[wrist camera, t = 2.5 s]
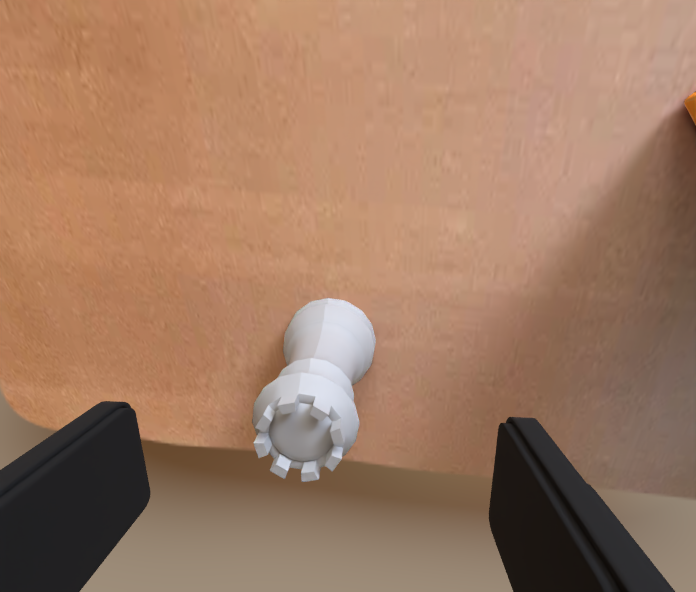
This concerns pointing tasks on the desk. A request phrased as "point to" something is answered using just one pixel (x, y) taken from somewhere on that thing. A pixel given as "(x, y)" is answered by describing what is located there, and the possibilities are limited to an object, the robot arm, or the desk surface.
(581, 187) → the desk surface
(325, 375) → the rook chess piece
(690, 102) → the supplement box
